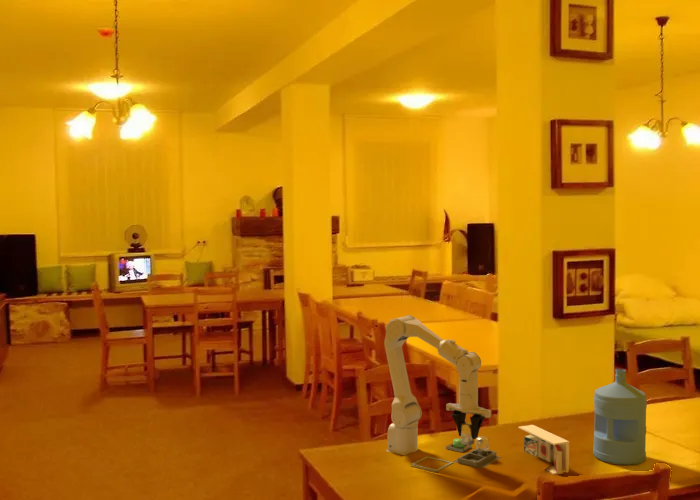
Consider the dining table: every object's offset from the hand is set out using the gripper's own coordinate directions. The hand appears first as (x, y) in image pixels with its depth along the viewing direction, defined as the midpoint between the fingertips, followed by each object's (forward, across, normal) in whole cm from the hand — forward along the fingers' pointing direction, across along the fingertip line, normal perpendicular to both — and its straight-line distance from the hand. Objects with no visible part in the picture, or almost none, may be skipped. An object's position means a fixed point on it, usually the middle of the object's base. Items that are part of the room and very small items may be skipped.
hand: (468, 436), depth 227 cm
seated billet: (+8, -1, -7) cm, 11 cm away
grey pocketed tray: (+9, -1, -4) cm, 10 cm away
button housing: (+9, +9, -10) cm, 16 cm away
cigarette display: (+10, -17, -16) cm, 26 cm away
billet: (+2, 0, 0) cm, 2 cm away
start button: (+8, +9, -10) cm, 16 cm away
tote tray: (+9, +8, +8) cm, 15 cm away
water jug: (+10, -34, -36) cm, 50 cm away
